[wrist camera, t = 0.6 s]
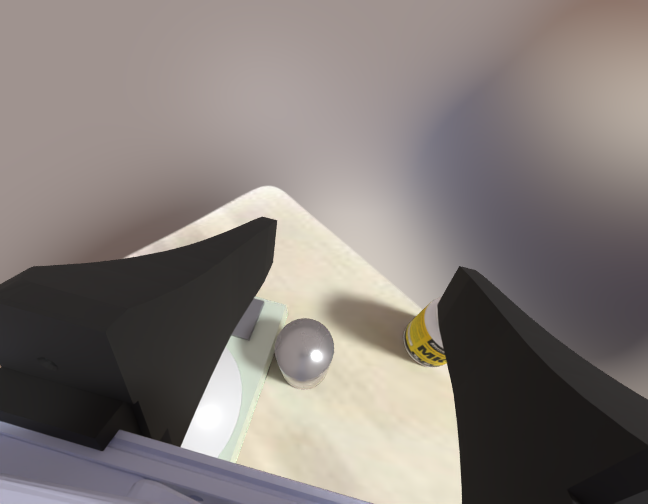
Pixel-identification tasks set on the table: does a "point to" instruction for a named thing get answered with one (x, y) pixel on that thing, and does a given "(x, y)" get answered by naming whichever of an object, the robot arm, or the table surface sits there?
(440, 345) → the supplement bottle
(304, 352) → the cylinder
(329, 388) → the table surface
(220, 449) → the scale
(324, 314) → the table surface
